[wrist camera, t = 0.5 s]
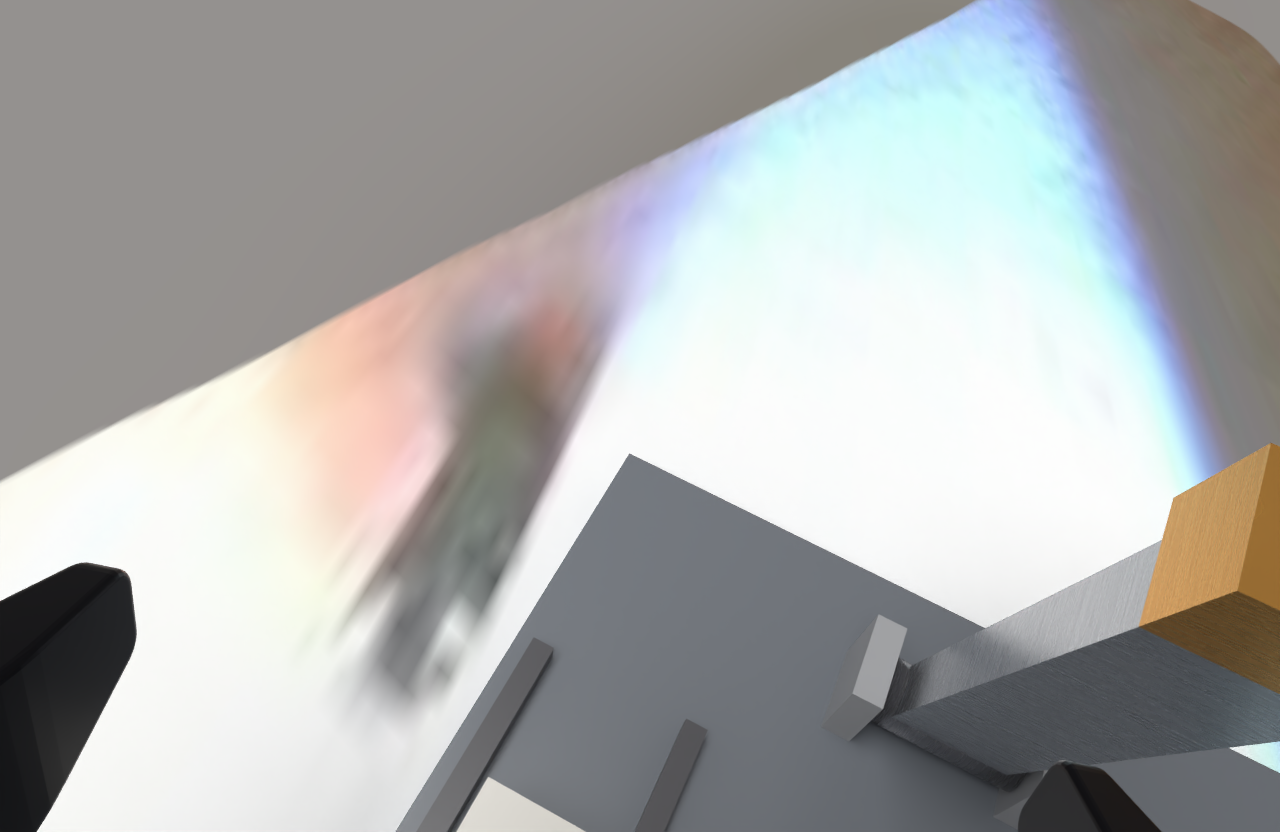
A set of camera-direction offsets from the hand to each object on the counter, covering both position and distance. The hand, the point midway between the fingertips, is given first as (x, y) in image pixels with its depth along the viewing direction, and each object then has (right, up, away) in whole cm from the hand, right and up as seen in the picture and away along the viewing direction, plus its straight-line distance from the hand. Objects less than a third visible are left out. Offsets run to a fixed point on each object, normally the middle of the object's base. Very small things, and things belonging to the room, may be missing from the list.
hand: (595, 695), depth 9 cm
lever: (+8, -5, +15) cm, 18 cm away
